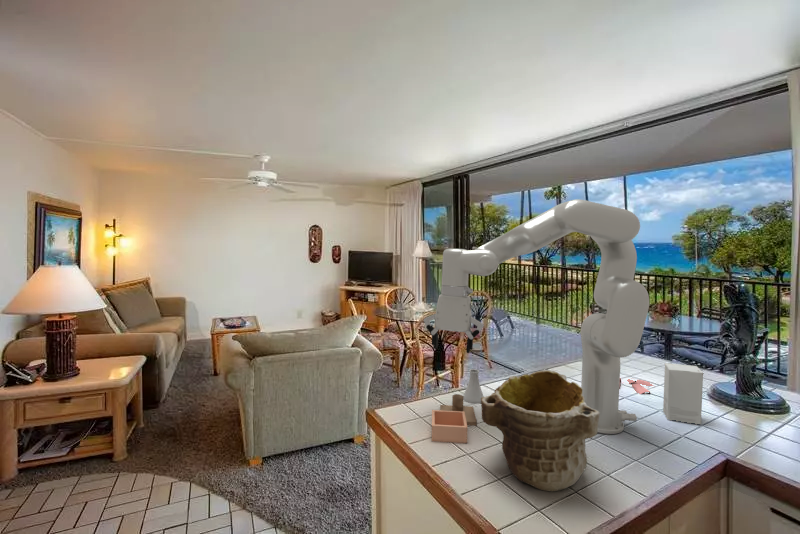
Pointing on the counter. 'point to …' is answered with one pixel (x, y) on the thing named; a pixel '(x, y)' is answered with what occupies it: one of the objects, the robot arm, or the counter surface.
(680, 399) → the skincare box
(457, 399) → the lid
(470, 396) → the flask
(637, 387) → the cloth
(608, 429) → the robot arm
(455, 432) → the open square container
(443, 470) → the counter surface
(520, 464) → the ceramic vessel
